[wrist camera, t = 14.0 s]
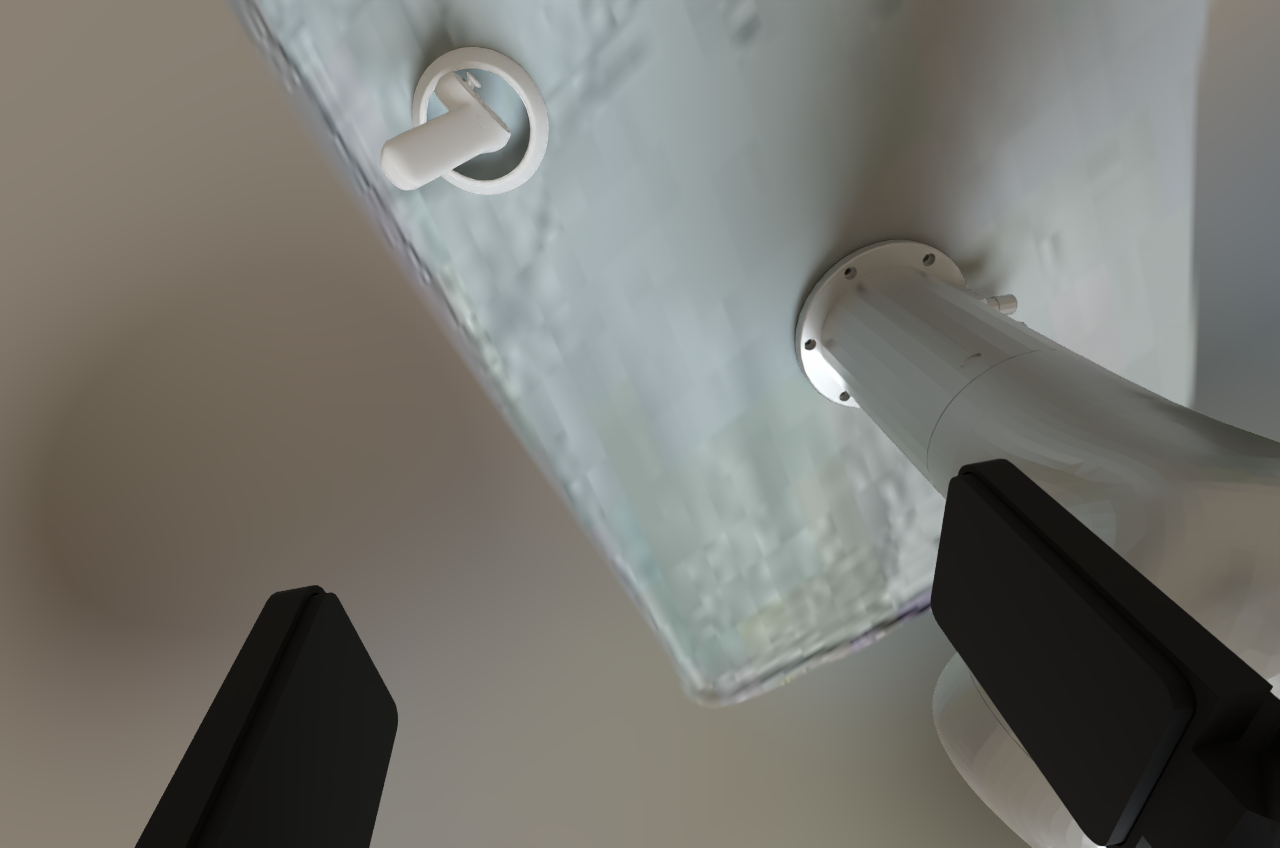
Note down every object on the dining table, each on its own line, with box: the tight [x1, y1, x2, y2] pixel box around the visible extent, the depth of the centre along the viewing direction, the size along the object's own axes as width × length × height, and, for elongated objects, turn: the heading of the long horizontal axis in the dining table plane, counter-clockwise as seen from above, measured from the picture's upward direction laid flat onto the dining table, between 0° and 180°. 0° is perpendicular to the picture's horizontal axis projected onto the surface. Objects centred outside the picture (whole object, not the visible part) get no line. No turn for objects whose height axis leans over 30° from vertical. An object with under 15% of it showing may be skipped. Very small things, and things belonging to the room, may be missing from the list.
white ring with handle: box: [381, 47, 549, 195], centre depth 33 cm, size 8×12×7 cm
